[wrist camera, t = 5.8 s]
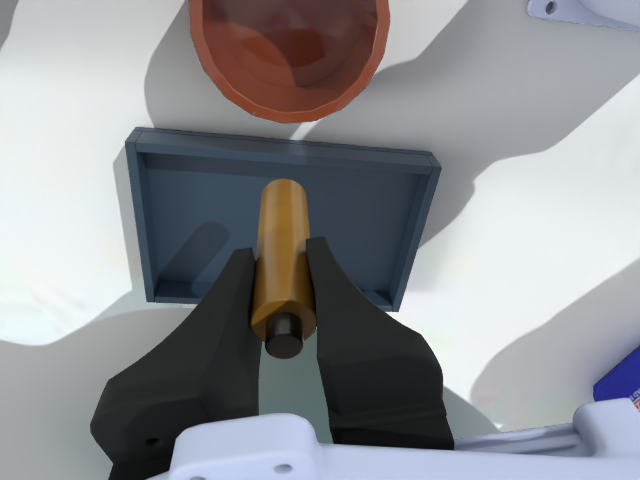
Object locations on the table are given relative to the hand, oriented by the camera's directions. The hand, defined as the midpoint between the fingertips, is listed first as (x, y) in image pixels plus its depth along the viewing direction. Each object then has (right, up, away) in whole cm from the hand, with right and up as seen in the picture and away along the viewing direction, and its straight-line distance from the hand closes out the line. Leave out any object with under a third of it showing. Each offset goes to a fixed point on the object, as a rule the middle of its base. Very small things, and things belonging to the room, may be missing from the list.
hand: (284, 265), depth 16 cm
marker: (0, +3, +4) cm, 5 cm away
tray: (-1, +2, +11) cm, 11 cm away
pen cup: (0, +11, +5) cm, 12 cm away
